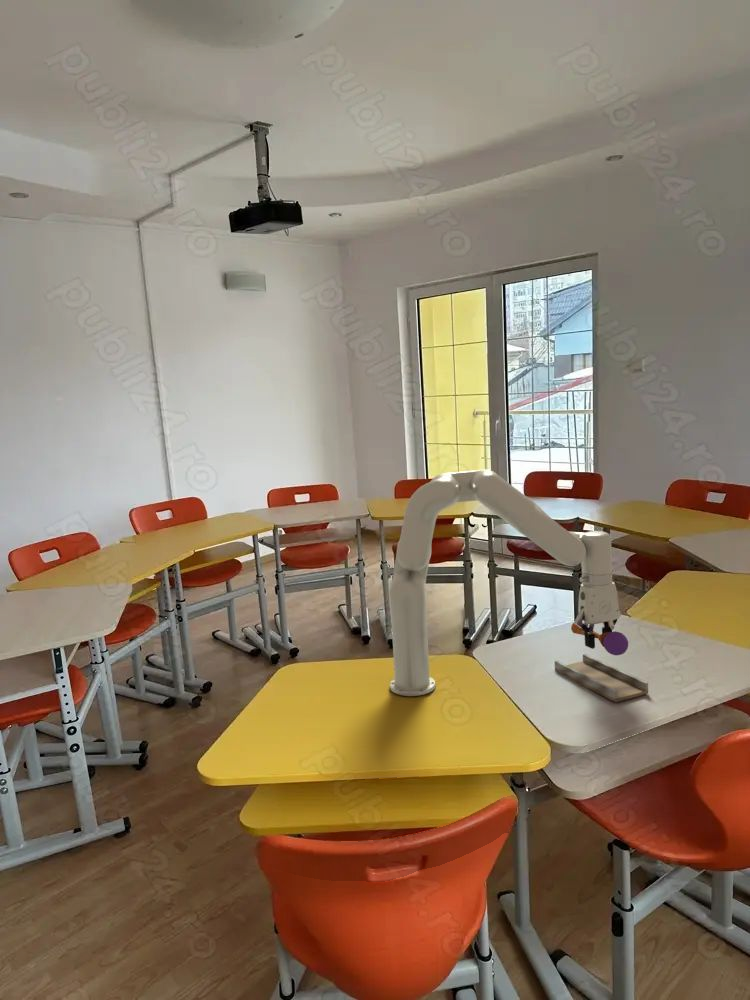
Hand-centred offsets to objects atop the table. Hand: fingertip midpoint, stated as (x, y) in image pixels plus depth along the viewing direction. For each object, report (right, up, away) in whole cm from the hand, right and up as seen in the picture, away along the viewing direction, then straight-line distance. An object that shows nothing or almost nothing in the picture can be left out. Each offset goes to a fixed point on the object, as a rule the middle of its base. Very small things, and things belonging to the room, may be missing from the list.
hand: (598, 644), depth 178 cm
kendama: (0, 0, 0) cm, 1 cm away
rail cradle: (+1, -10, +1) cm, 10 cm away
